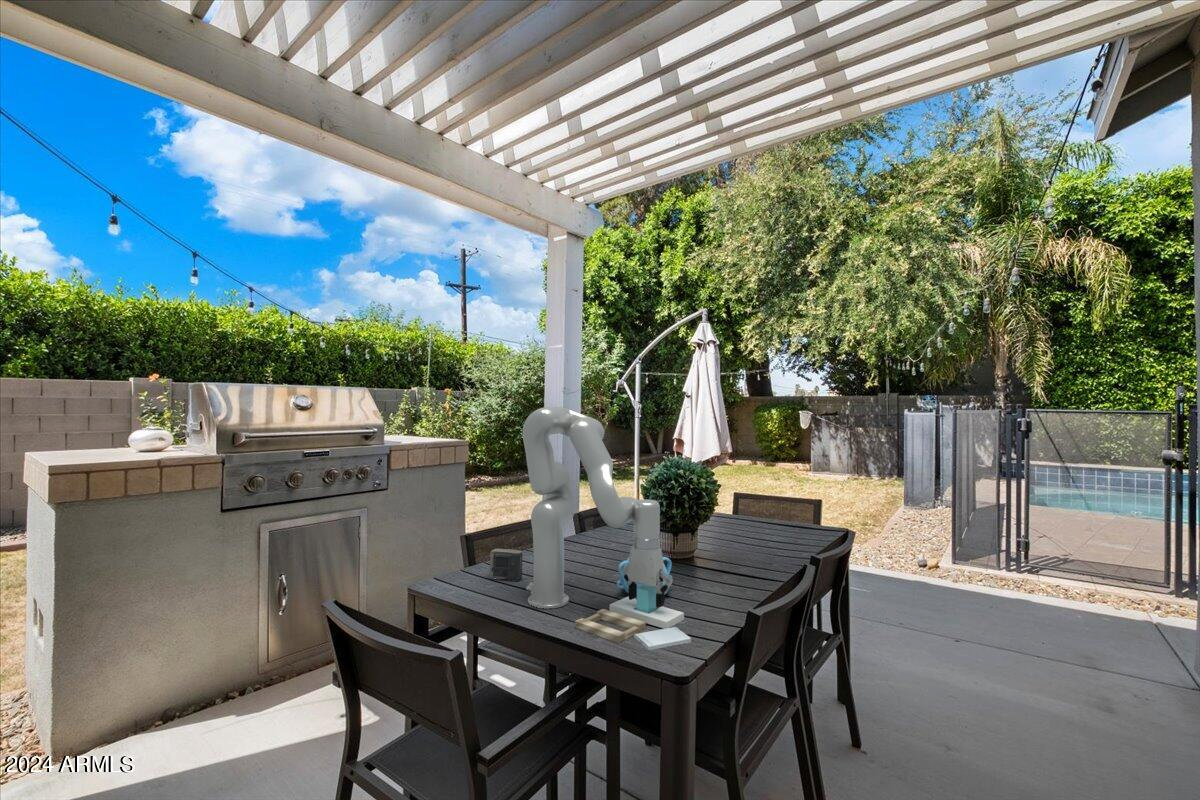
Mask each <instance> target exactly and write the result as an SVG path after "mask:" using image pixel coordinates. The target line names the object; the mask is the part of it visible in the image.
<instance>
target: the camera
mask: <svg viewBox="0 0 1200 800" xmlns="http://www.w3.org/2000/svg"><path fill="white" fill-rule="evenodd" d="M489 553H490V554H489V555H490V556H489V558H490V559H489V573H488V574H489V578H490V579H491V578H496V579H495V580H500V579H508V580H507V581H511V580H517V581H516V582H520V581H521V580H523V551H522V550H516V549H509V548H507V549H506V548H494V549H492V550H491V551H490V552H489ZM520 579H521V580H520Z"/></svg>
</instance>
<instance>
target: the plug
mask: <svg viewBox="0 0 1200 800" xmlns="http://www.w3.org/2000/svg"><path fill="white" fill-rule="evenodd" d="M637 610H638V611H641V612H645V613H648V614H649V613H651V612H653V611H655V610H656V589H655V587H651V586H647V585H643V586H641V587H638V588H637Z"/></svg>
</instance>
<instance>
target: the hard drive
mask: <svg viewBox="0 0 1200 800" xmlns="http://www.w3.org/2000/svg"><path fill="white" fill-rule="evenodd" d="M633 638H634V639H635V640H636V641H637V642H639V643H640V644H641V645H642V646H643V647H644V648H645V649H646V650H648V651H651V650H658V649H663V648H668V646H669V647H673V645H674V646H678V645H679V644H680V645H684V643H685V644H689V643H690V644H691V643H692V638H691V637H690V636H689V635H688V634H686V633H685V632H683V631H682V630H680V629H679V628H678V627H677V626H672V627H670V628H667V629H663V628H660V629H655V630H652V631H651V630H650V631H645V632H639V633H637V634H634V635H633Z"/></svg>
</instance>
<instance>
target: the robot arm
mask: <svg viewBox="0 0 1200 800" xmlns="http://www.w3.org/2000/svg"><path fill="white" fill-rule="evenodd" d="M557 434H561V435H564V436H566V437H569V439H570V442H571V444H572V446H573V448H574V450H575V452H576V454H577V455H578V457H579V459H580V462H581V463H582V466H583V468H584V470H585V472H586V474H587V481H588V485H589V491H590V495H591V497H592V501H593V502H594V505H595V507H596V509H597V511H598V513H599V515H600V517H601V519H602V521H604V522H605V524H606V525H608V526H609V527H610V528H615V529H616V528H621V527H623V526H625V525H626V524H628V523H630V522H631V523H632V522H633V536H631V538H630V540H631V542H633V545H632V546H631V547H630V551H629V556H628V558H629V563H628V566H626V567H624V566H623V567H622V572H623V575H624V578H625V580H626V582H627V585H628V586H629V593H628V597H629V600H632V599H634V598H635V599H636V597H637V584H635V583H640V584H643V585H647V586H654V587H655V589H656V590H657V592H658V593H657V594H656V607H657V608H659V607H661V606H662V607H664V605H665V600H666V599H665V595H666V594H665V592H666V591H667V590H668V589H670V587H671V585H672V583H673V581H674V580H672V579H671V578H670V577H669V576H668V575H667V574H666V573H665V572H664V565H665V564H664V565H663V562H664V561H663V557H664V556H663V552H662V551H663V550H662V548H660V546H661V545H660V544H661V541H660V539H661V537H660V536H661V535H660V532H661V531H660V530H661V524H660V523H661V521H660V520H661V515H660V514H661V507H660V503H659V502H658V501H657V500H655V499H638V498H634V497H629V496H621V497H620V496H619V494H618V492H617V491H616V487H615V484H614V481H613V469H614V461H613V459H612V457H611V455H610V454H609V451H608V449H607V448H606V445H605V443H604V442H603V439H604V438H605V428H604V426H603V424H602V423H601V422H600V421H599V420H597V419H595V418H593V417H590V416H588V415H585V414H582V413H579V412H577V411H575V410H572V409H569V408H567V407H563V406H543V407H540V408H538V409H536V410H534V411H532V412H531V413H530V414H529V415H528V417H527V418H526V419H525V421H524V423H523V427H522V440H523V446H524V451H525V459H526V466H527V472H528V479H529V485H530V489H531V490H532V491H533V492H534V493H535V494H536V495H538V496H539V495H540V496H545V498H544V499H542V500H541V501H539V502H538V503H536V504H535V505H534V507H533V508H532V511H531V514H530V522H531V523H530V524H531V530H532V540H533V541H532V543H533V548H532V549H533V550H532V551H533V553H532V554H533V556H532V557H533V559H532V564H533V565H532V567H533V568H532V572H533V573H532V574H533V575H532V576H533V577H532V581H531V582H529V583H528V585H527V586H526V588H525V589H526V591H529V592H530V595H529V596H528V598H527V604H528V603H529V604H528V605H529V606H531V605H532V606H531V607H533V606H534V607H533V608H536V607H537V608H538V609H543V608H544V609H547V610H549V609H550V608H551V609H557V608H558V609H559V608H562V607H564V606H566V605H568V604H569V602H570V597H569V595H567V594H566V593H565V539H564V537H565V536H564V534H563V526H564V525H566V524H567V523H569V522H570V521H571V520H572V519H573V517H574V515H575V509H576V507H575V500H574V491H573V486H572V480H571V474H570V473H569V470H568V468H567V467H566V466H565V465H564V464H563V463H561V462H557V461H555V456H554V449H553V445H552V443H551V441H550V436H551V435H557ZM663 580H665V585H664V584H663ZM659 586H660V587H659ZM668 591H669V590H668ZM668 591H667V592H668ZM537 608H536V609H537ZM544 609H543V610H544ZM551 609H550V610H551Z"/></svg>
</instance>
